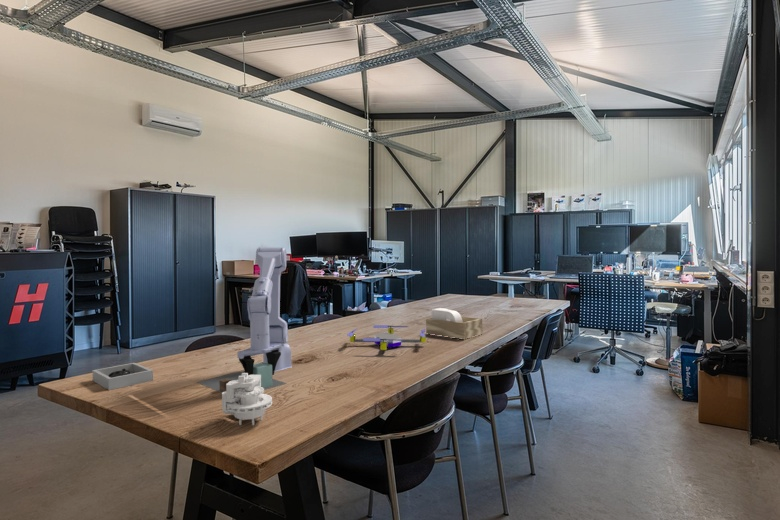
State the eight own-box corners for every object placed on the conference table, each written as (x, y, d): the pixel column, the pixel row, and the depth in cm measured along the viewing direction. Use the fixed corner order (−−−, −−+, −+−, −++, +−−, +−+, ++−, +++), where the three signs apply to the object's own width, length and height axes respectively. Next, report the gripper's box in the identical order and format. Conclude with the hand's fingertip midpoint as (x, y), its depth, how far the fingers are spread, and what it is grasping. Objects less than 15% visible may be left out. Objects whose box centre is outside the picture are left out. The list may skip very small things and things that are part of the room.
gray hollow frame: (135, 372, 159) (134, 362, 159) (153, 380, 149) (152, 370, 149) (92, 380, 149) (92, 370, 149) (109, 390, 139) (108, 379, 139)
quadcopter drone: (357, 334, 217) (357, 324, 216) (426, 335, 213) (426, 325, 213) (342, 350, 183) (342, 338, 183) (424, 352, 180) (424, 339, 179)
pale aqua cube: (263, 382, 143) (262, 362, 143) (272, 385, 140) (272, 364, 140) (248, 386, 139) (248, 365, 139) (257, 389, 136) (257, 368, 136)
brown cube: (227, 388, 138) (227, 378, 138) (231, 389, 136) (231, 380, 136) (219, 390, 136) (219, 380, 136) (223, 391, 134) (223, 382, 134)
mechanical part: (253, 432, 106) (252, 383, 105) (213, 425, 110) (212, 378, 110) (281, 415, 116) (281, 370, 116) (244, 410, 120) (243, 366, 120)
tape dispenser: (431, 334, 225) (431, 309, 225) (446, 331, 232) (446, 307, 232) (455, 338, 213) (455, 312, 213) (470, 335, 220) (470, 310, 219)
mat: (246, 372, 158) (246, 370, 158) (287, 385, 142) (287, 383, 142) (196, 384, 145) (196, 382, 145) (235, 399, 129) (235, 397, 129)
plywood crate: (445, 329, 236) (445, 314, 236) (482, 334, 222) (482, 318, 221) (426, 334, 223) (426, 318, 223) (464, 340, 209) (464, 323, 209)
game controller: (107, 376, 152) (121, 362, 154) (120, 385, 154) (134, 371, 156) (102, 383, 144) (117, 369, 145) (116, 393, 145) (131, 379, 147)
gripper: (245, 339, 131) (246, 385, 131) (287, 331, 142) (287, 374, 142) (233, 336, 136) (234, 380, 136) (274, 329, 147) (274, 370, 147)
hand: (260, 377), depth 140 cm, fingers open, 7 cm apart
